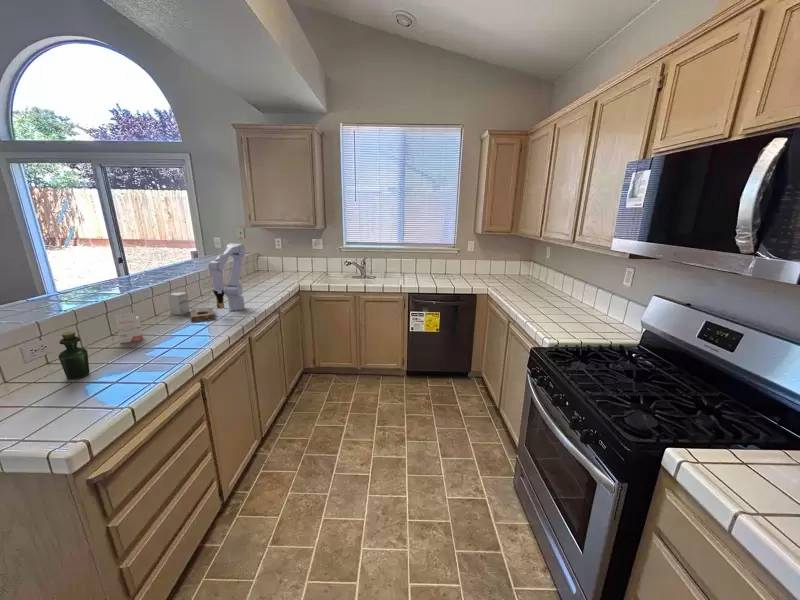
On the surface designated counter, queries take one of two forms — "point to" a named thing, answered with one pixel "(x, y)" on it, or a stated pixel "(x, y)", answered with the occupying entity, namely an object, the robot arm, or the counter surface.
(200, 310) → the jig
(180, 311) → the supplement box
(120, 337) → the ink cartridge box
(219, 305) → the brass cylinder
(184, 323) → the counter surface
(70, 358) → the potion bottle
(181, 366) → the counter surface
